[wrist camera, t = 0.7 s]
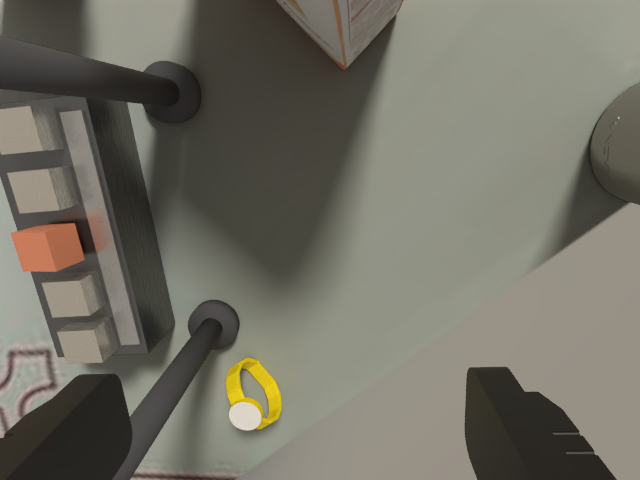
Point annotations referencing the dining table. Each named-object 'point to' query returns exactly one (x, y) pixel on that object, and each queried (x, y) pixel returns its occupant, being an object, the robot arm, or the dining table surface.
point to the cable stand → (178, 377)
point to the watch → (248, 410)
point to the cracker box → (342, 23)
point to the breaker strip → (88, 223)
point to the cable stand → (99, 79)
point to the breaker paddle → (48, 247)
